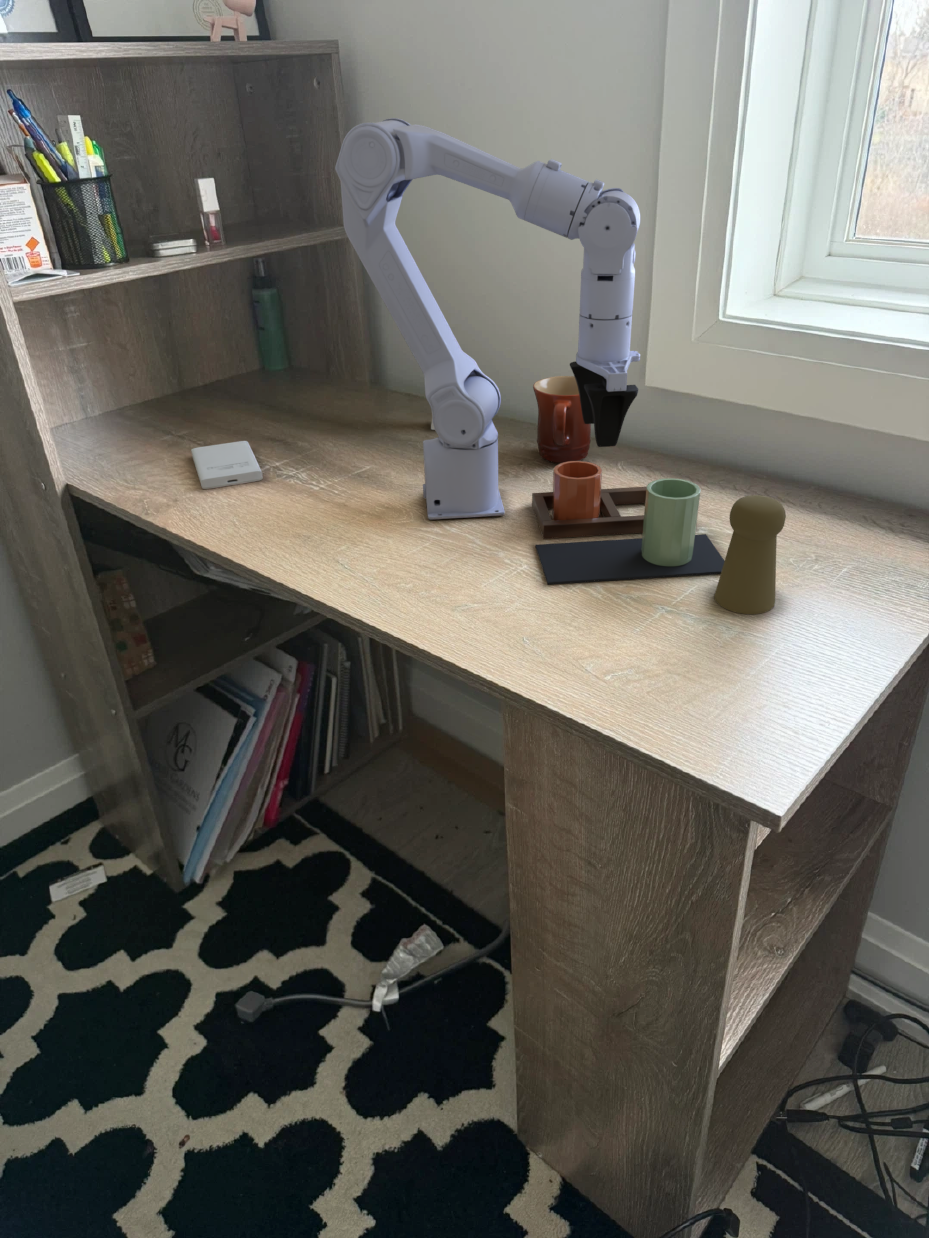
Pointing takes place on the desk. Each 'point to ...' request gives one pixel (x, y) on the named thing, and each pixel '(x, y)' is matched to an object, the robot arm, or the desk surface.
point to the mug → (561, 420)
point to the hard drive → (226, 464)
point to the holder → (592, 526)
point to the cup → (670, 521)
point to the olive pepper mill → (751, 556)
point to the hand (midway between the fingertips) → (599, 434)
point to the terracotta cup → (576, 490)
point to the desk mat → (619, 561)
